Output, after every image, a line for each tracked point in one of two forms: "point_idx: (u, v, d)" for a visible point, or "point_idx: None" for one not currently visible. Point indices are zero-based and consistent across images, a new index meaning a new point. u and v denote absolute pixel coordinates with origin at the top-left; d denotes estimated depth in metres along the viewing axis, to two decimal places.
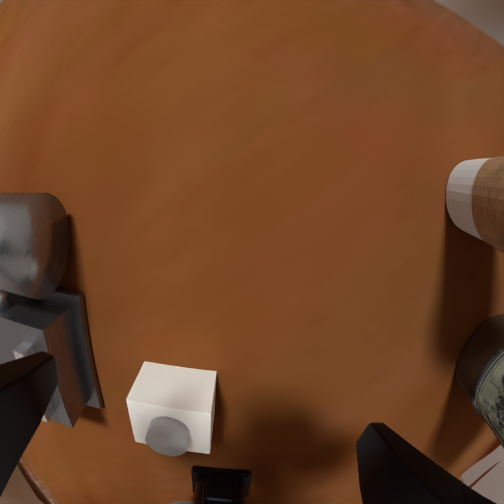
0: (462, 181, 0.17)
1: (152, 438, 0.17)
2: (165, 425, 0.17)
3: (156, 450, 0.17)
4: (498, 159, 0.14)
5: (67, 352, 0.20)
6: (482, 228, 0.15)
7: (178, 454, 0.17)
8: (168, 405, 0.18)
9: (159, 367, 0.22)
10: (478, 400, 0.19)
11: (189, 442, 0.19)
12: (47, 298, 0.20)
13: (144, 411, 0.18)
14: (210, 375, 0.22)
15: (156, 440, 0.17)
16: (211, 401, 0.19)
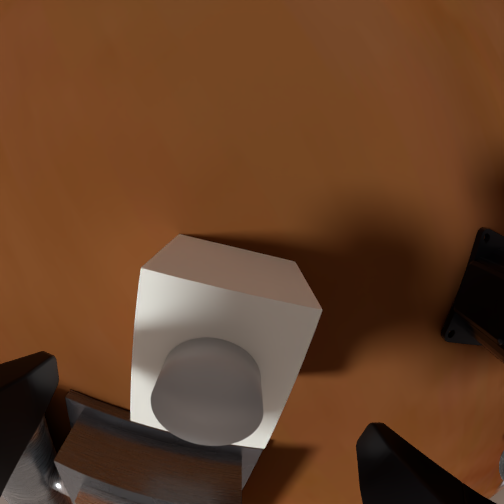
0: None
1: (185, 429, 0.07)
2: None
3: (238, 436, 0.07)
4: None
5: (124, 451, 0.13)
6: None
7: (253, 397, 0.07)
8: (134, 353, 0.09)
9: None
10: None
11: (263, 349, 0.08)
12: None
13: None
14: None
15: (192, 425, 0.07)
16: None
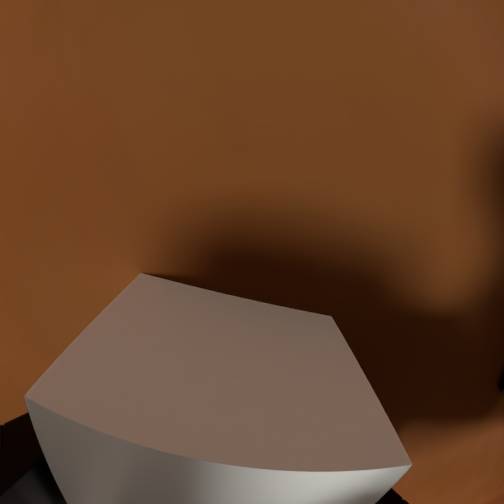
0: None
1: None
2: None
3: None
4: None
5: None
6: None
7: None
8: (68, 491, 0.03)
9: None
10: None
11: None
12: None
13: None
14: None
15: None
16: (67, 352, 0.04)
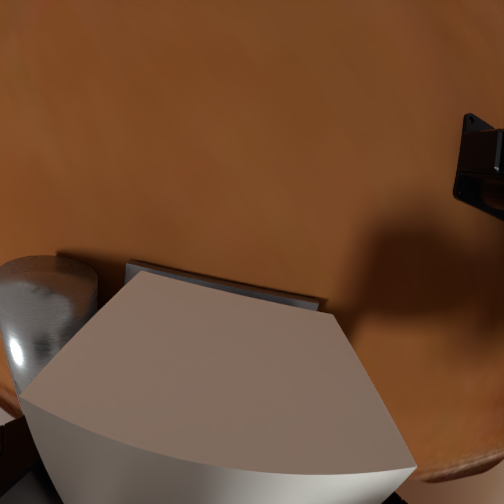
0: None
1: None
2: None
3: None
4: None
5: None
6: None
7: None
8: (65, 492, 0.03)
9: None
10: None
11: None
12: None
13: None
14: None
15: None
16: (63, 351, 0.04)
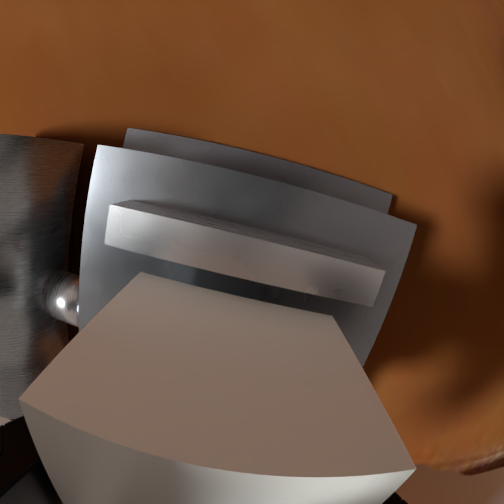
0: None
1: None
2: None
3: None
4: None
5: None
6: None
7: None
8: (65, 493, 0.03)
9: None
10: None
11: None
12: None
13: None
14: None
15: None
16: (63, 353, 0.04)
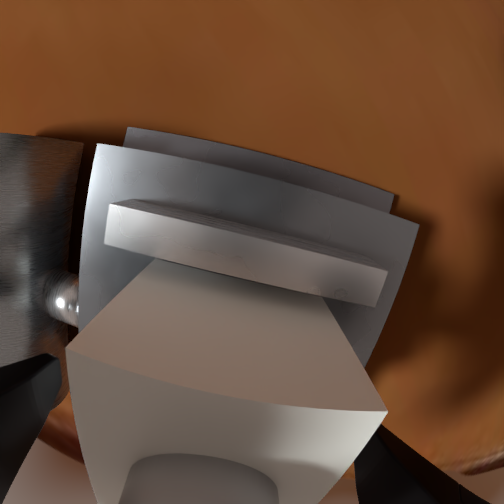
0: None
1: None
2: None
3: None
4: None
5: None
6: None
7: None
8: (86, 451, 0.04)
9: None
10: None
11: (284, 466, 0.04)
12: None
13: None
14: None
15: None
16: (98, 317, 0.05)
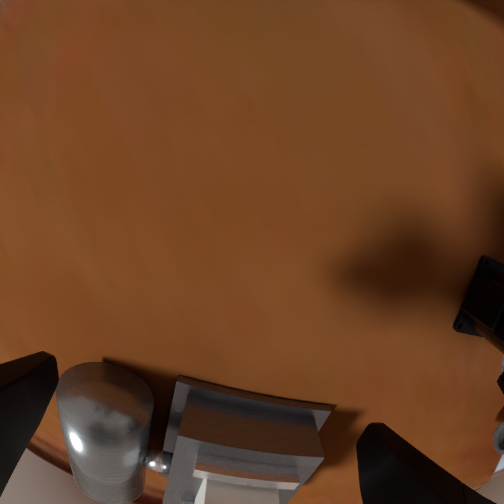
0: None
1: None
2: None
3: None
4: None
5: (232, 420, 0.19)
6: None
7: None
8: None
9: (196, 498, 0.17)
10: None
11: None
12: (179, 414, 0.20)
13: None
14: None
15: None
16: None
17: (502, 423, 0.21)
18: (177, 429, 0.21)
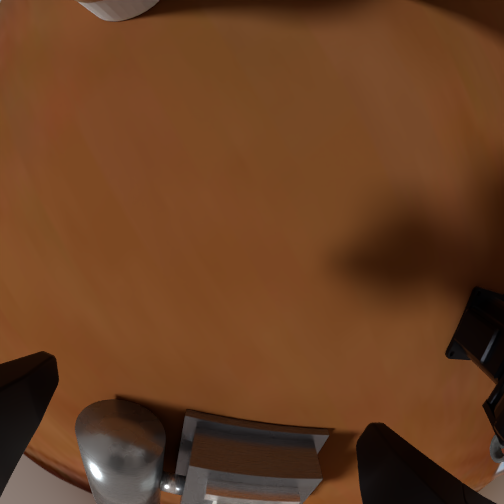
0: (94, 10, 0.12)
1: None
2: None
3: None
4: None
5: (237, 448, 0.19)
6: None
7: None
8: None
9: None
10: None
11: None
12: (189, 442, 0.21)
13: None
14: None
15: None
16: None
17: None
18: (188, 454, 0.22)
